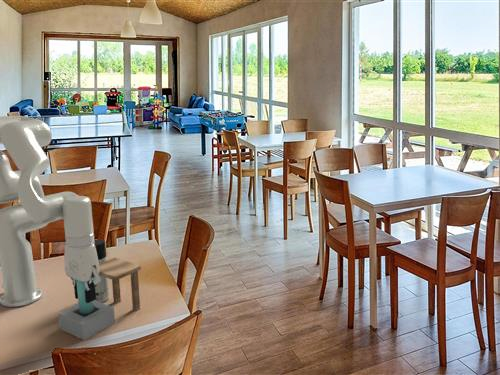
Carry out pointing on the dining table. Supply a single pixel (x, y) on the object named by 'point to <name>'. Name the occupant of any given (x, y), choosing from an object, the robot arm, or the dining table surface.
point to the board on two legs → (118, 270)
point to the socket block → (86, 320)
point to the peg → (83, 299)
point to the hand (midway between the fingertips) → (85, 298)
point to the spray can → (103, 286)
